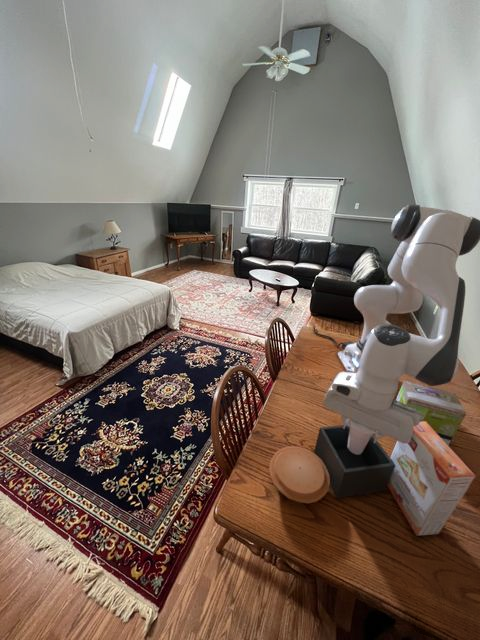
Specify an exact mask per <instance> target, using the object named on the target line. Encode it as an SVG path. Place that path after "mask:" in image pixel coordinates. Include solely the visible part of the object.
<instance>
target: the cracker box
mask: <svg viewBox="0 0 480 640" xmlns="http://www.w3.org/2000/svg"><path fill="white" fill-rule="evenodd" d="M389 457H390V459H391V460H392V461H393V463H394V464H395V468H394V470H393V472H392V475H391V477H390V479H389V482H388V484H387V486H386V487H387V488H388V490H389V491H390V493H391V495H392V497H393V499H394V500H395V502H396V504H397V506H398V507H399V509H400V510H401V512H402V514H403V516H404V517H405V519H406V521H407V523H408V524H409V526H410V528H411V529H412V531H413V533H414V535H415V536H416V537H419V536H430V535H431V536H432V535H440V533H441V532H442V530H443V528H444V527H445V525H446V524H447V523H448V520H449V519H450V518H451V516H452V514H453V513H454V511H455V510H456V509H457V506H458V505H459V504H460V502H461V500H462V498H463V497H464V496H465V494H466V493H467V491H468V490H469V488H470V486H471V485H472V483H473V482H474V480H475V478H476V475H475V473H474V472H472V470H471V469H470V468H469V467H468V466H467V465H466V463H464V461H463V460H462V459H461V458H460V457H459V456H458V454H456V453H455V451H453V450H452V448H451V447H450V446H449V445H447V444H446V443H445V442H444V441H443V440H442V439H441V438H440V437H439V435H438V434H437V433H436V432H435V431H434V430H433V429H432V428H431V427H430V426H429V424H428V423H427V422H420V423H419V424H418V425H416V426H414V429H413V434H412V438H411V441H410V442H409V443H405V444H404V443H401V442H399V441H397V440H396V443H395V445H394V448H393V450H392V452H391V455H390V456H389Z"/></svg>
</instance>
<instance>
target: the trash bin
mask: <svg viewBox="0 0 480 640" xmlns="http://www.w3.org/2000/svg"><path fill="white" fill-rule="evenodd" d="M343 426H344V424H339V425H332V426H331V425H330V426H321V427H319V430H318V434H317V438H316V443H315V446H314V451H313V453H314V454H316V455H317V456H318V457H319V458H320V459H321V460H322V461H323V463H324V465H325V466H326V468H327V470H328V473H329V475H330V486H329V487H331V490H332V492H333V494H334V497H335V498H336V499H339V498H340V499H342V498H345V497H353V496H359V495H366V494H372V493H378V492H384V491H386V488H387V487H388V486H387V484H388V482H389V479H390V477H391V475H392V472H393V470H394V468H395V464H394V463H393V461H392V460H391V459H390V457H391V456H389V455H388V453H387V452H386V450H385V449H384V448H383V447H382V445H381V444H380V442H379V441H378V440H376V443H373V442H371V441H368V443H367V445H366V447H365V448H364V450H363V452H362V453H361V454H359V455H357V454H354V453H352V452H350V451H349V449H348V438H349V431H348V430H345V429H343ZM349 430H350V429H349Z"/></svg>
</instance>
